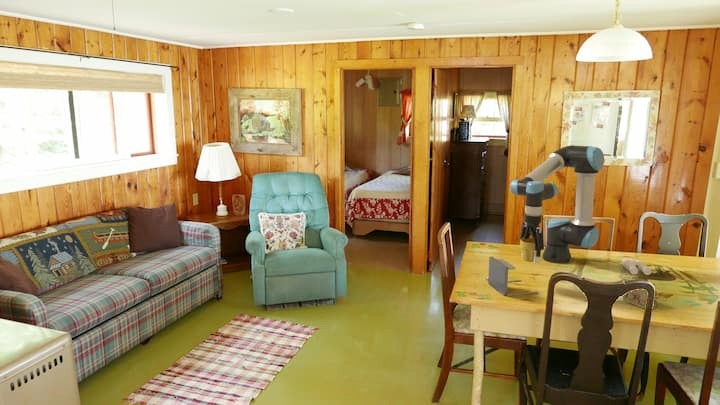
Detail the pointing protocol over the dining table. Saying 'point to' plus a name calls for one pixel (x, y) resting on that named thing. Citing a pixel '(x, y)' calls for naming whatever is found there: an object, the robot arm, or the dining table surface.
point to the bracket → (501, 276)
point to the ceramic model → (638, 298)
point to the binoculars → (636, 266)
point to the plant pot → (527, 249)
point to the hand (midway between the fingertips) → (530, 259)
